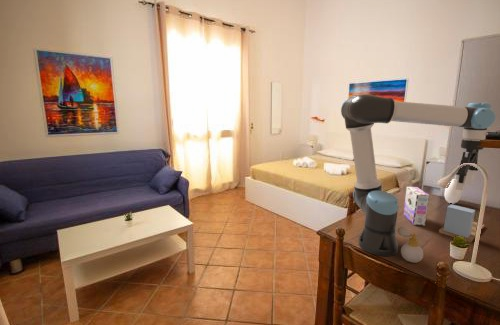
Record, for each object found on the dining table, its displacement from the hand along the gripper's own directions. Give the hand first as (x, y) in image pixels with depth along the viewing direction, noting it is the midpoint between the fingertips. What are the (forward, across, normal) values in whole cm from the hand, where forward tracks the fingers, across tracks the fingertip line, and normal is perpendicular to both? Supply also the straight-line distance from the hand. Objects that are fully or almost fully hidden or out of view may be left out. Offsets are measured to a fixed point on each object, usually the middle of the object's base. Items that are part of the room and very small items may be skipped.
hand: (464, 186), depth 115 cm
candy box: (+24, +3, +19) cm, 30 cm away
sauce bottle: (+23, +46, +14) cm, 53 cm away
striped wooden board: (+23, +9, 0) cm, 25 cm away
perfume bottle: (+24, -38, +6) cm, 46 cm away
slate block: (+22, 0, 0) cm, 22 cm away
